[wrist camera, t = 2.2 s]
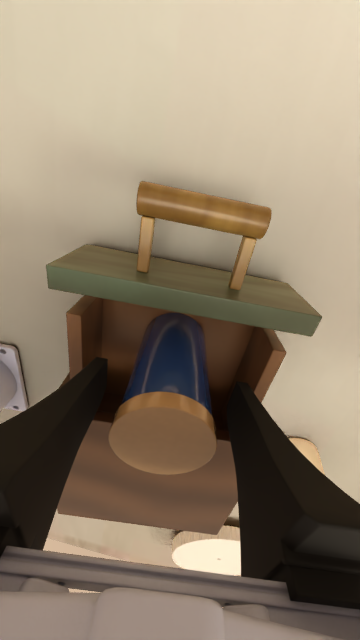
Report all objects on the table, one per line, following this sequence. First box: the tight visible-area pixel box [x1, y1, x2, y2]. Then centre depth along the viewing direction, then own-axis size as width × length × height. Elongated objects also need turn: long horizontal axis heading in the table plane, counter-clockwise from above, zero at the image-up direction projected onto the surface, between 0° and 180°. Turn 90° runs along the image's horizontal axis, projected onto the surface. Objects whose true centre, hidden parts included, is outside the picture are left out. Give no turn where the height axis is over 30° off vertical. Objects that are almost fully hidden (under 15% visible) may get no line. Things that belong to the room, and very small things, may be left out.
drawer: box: [46, 181, 322, 431], centre depth 15 cm, size 17×13×5 cm
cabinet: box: [57, 372, 238, 535], centre depth 21 cm, size 14×15×7 cm
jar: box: [109, 313, 217, 475], centre depth 13 cm, size 5×5×8 cm
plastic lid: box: [172, 525, 241, 576], centre depth 36 cm, size 14×14×2 cm
